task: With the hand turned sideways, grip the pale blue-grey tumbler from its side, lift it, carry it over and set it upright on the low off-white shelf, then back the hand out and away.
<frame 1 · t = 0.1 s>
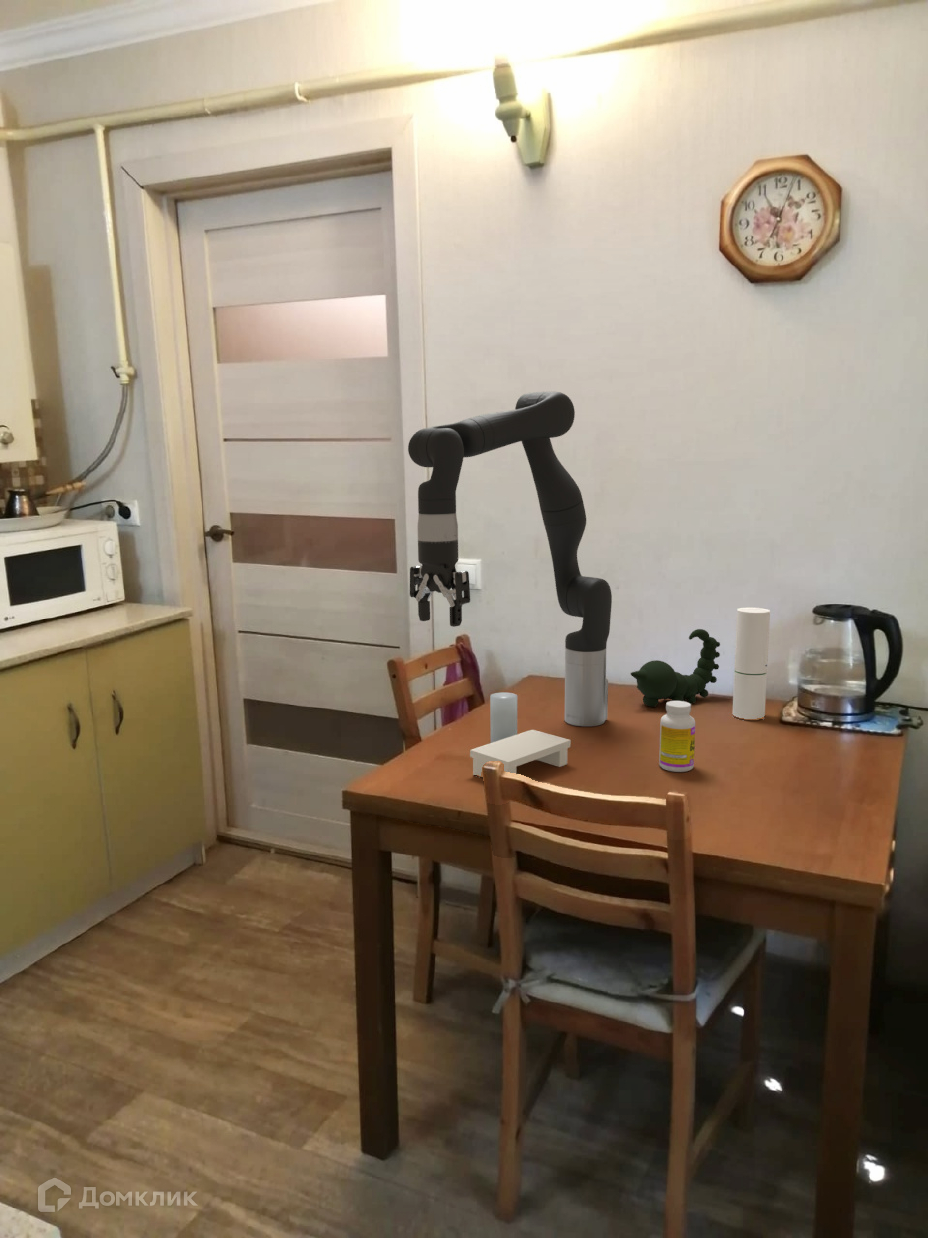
hand: (439, 623, 175), 29 cm above the table, tool pointing down, fingers open, 8 cm apart
cylindrical container: (748, 717, 213), on the table
supplement bottle: (676, 768, 180), on the table
tumbler: (503, 746, 194), on the table
toy figurine: (672, 703, 225), on the table
shelf: (520, 769, 180), on the table
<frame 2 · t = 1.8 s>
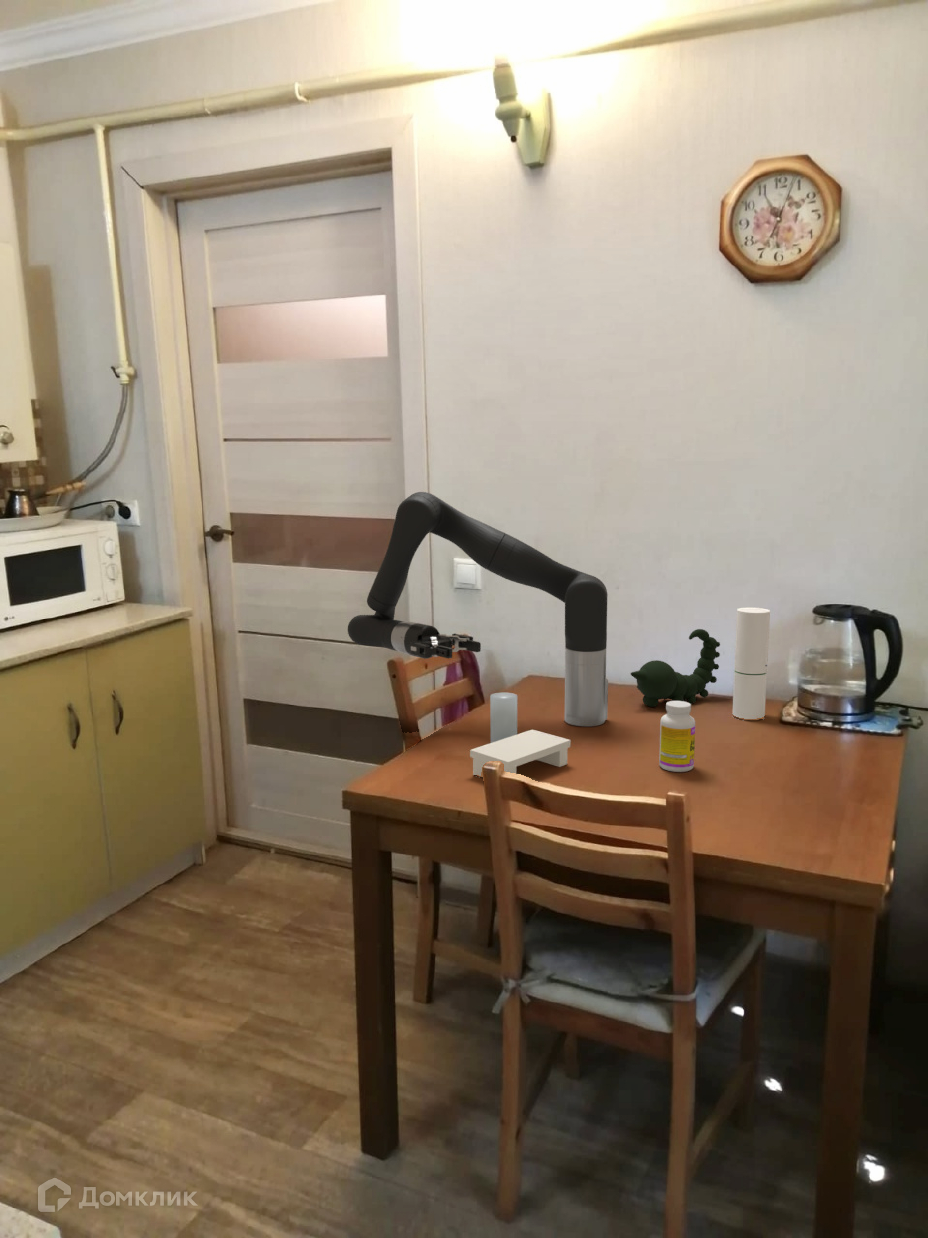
hand: (465, 650, 198), 19 cm above the table, tool horizontal, fingers open, 8 cm apart
nothing on the table moved.
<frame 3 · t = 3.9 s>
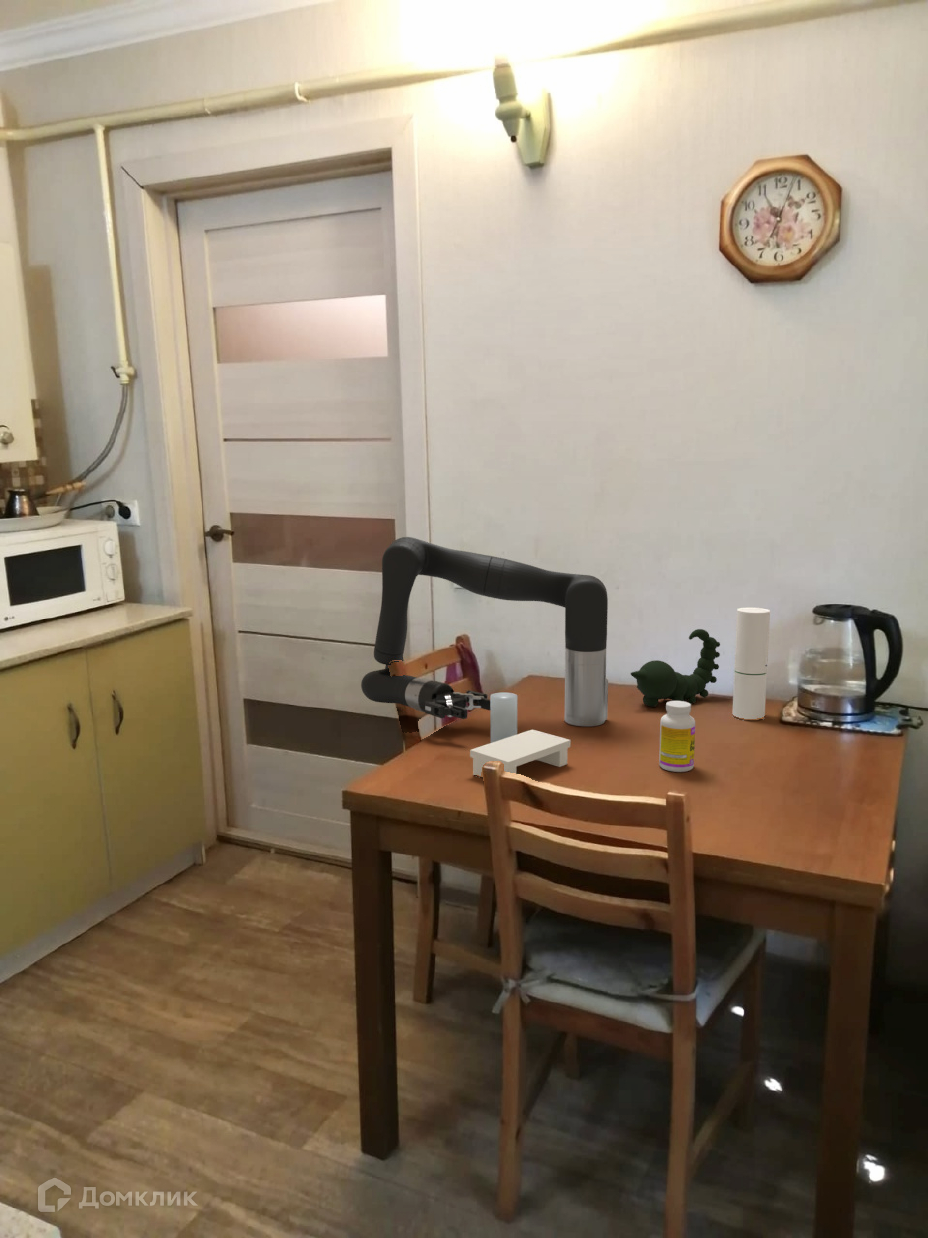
hand: (480, 710, 198), 6 cm above the table, tool horizontal, fingers open, 8 cm apart
nothing on the table moved.
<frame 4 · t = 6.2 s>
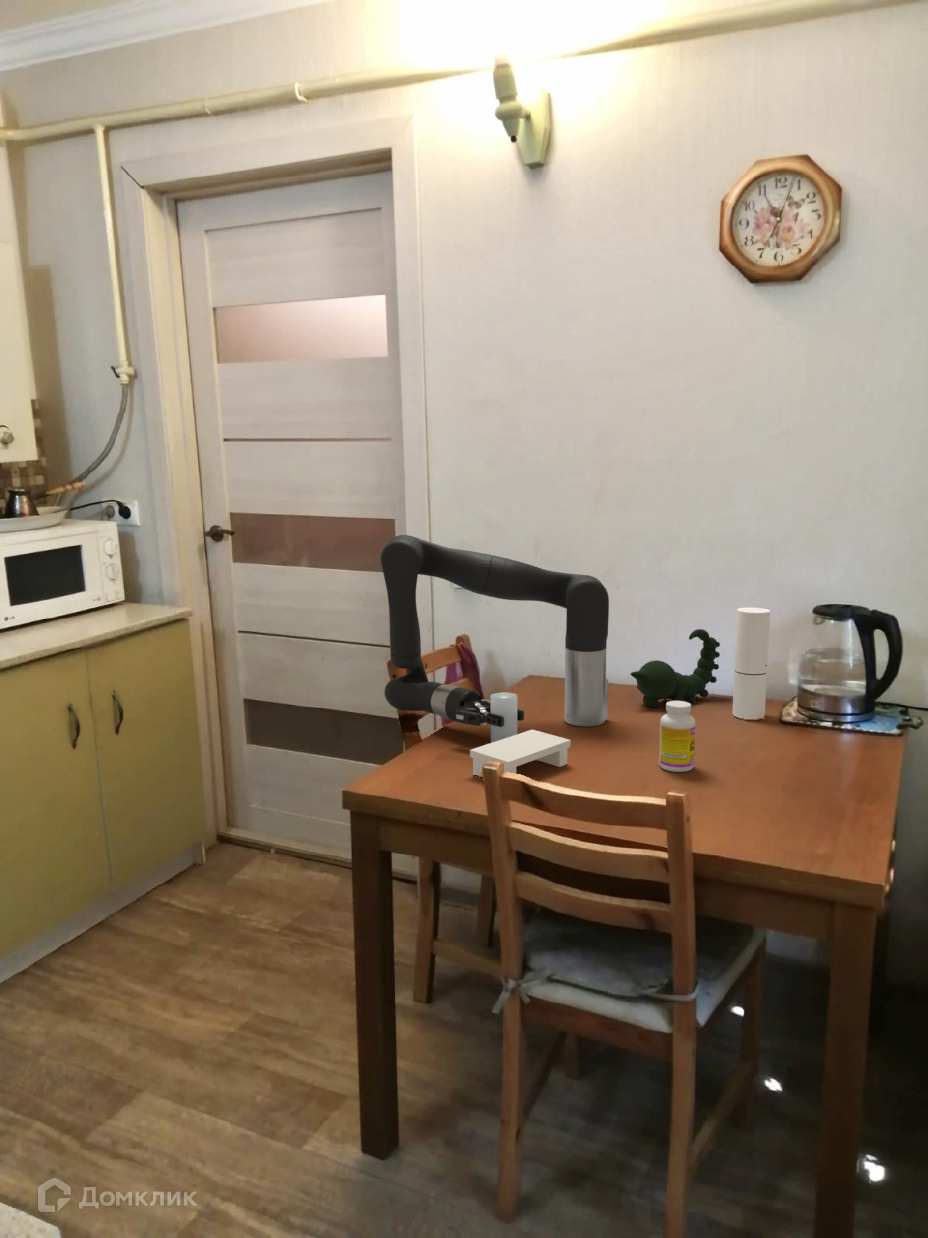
hand: (512, 718, 191), 7 cm above the table, tool horizontal, fingers closed on tumbler, 5 cm apart
tumbler: (504, 746, 194), on the table, touching gripper
everything else where it was.
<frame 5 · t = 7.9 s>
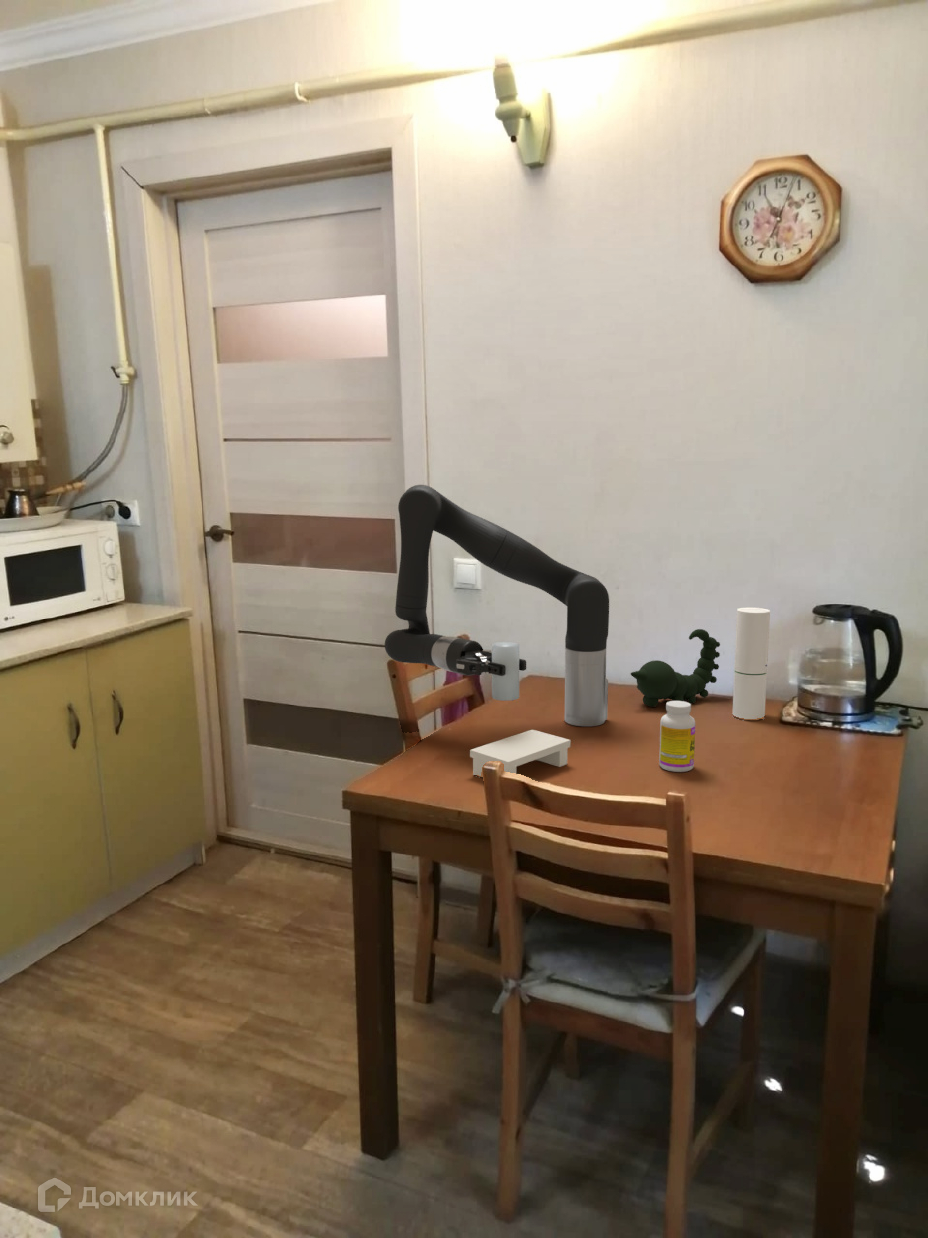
hand: (514, 668, 187), 18 cm above the table, tool horizontal, fingers closed on tumbler, 5 cm apart
tumbler: (505, 696, 190), point 11 cm above the table, touching gripper
everything else where it was.
when the fingers open (13 cm above the table, at t = 10.0 s): tumbler drops 1 cm, resting on shelf.
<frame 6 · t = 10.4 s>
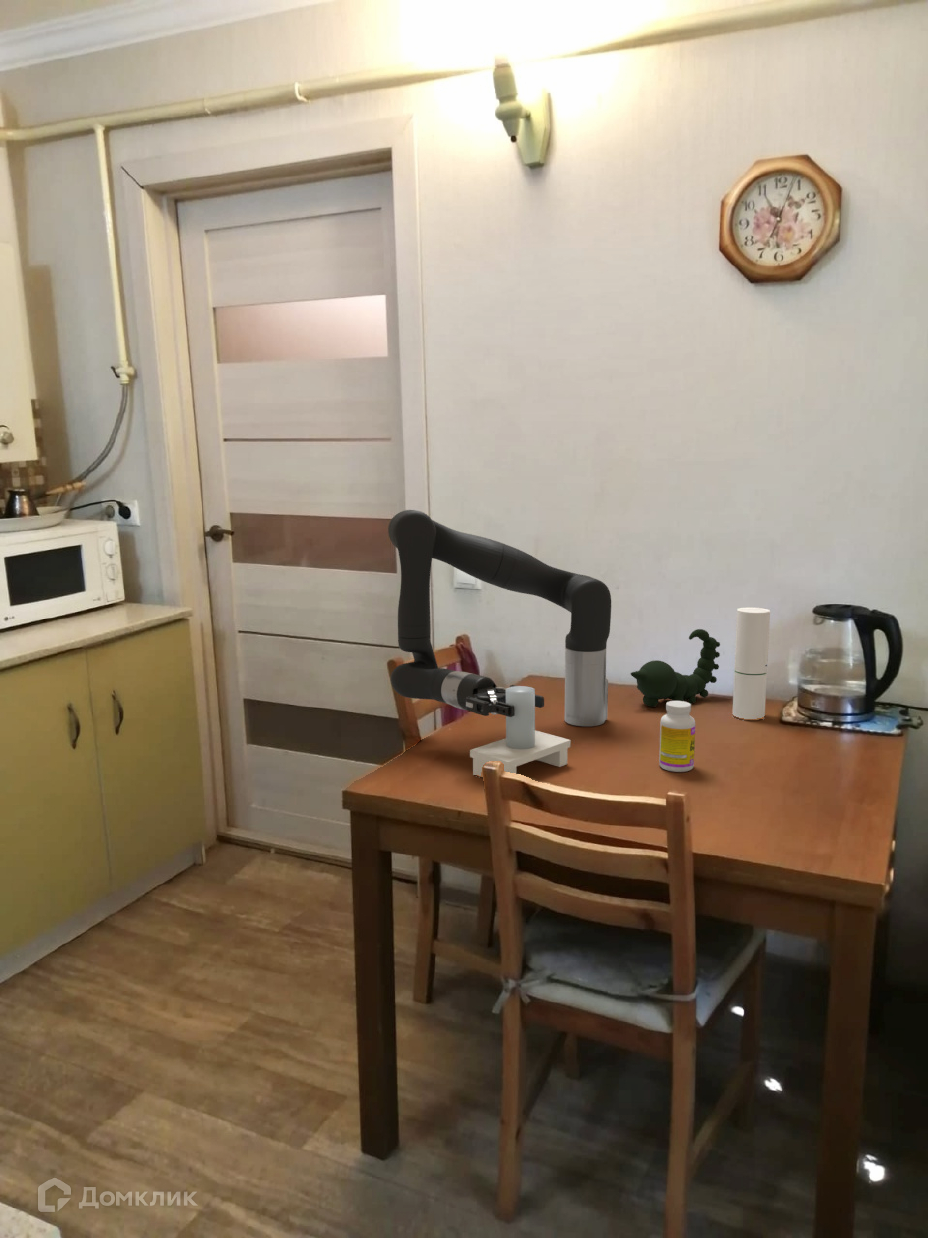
hand: (528, 707, 176), 13 cm above the table, tool horizontal, fingers open, 8 cm apart
tumbler: (520, 744, 179), point 5 cm above the table, touching shelf
everything else where it was.
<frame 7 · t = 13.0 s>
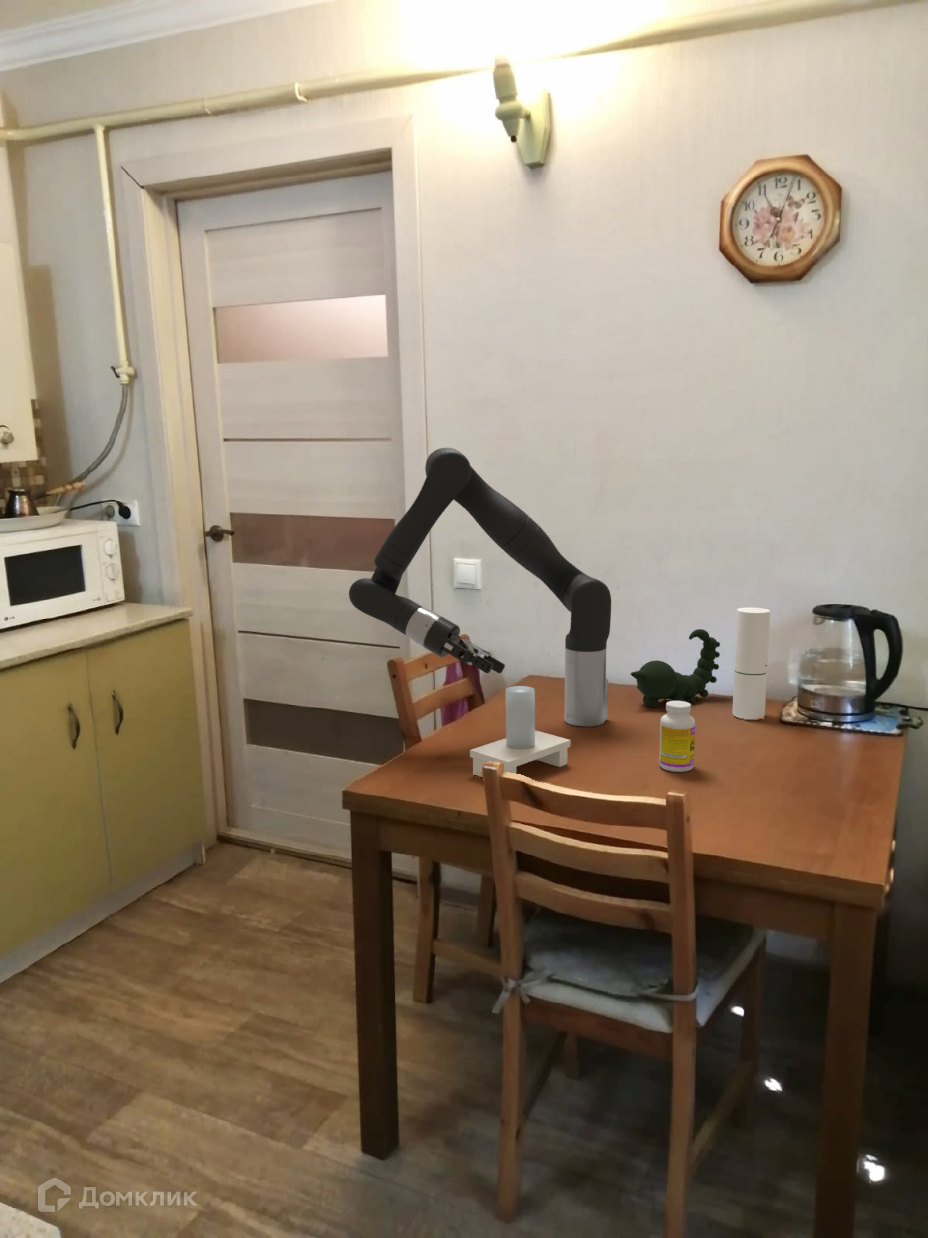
hand: (497, 669, 189), 17 cm above the table, tool tilted 65°, fingers open, 8 cm apart
nothing on the table moved.
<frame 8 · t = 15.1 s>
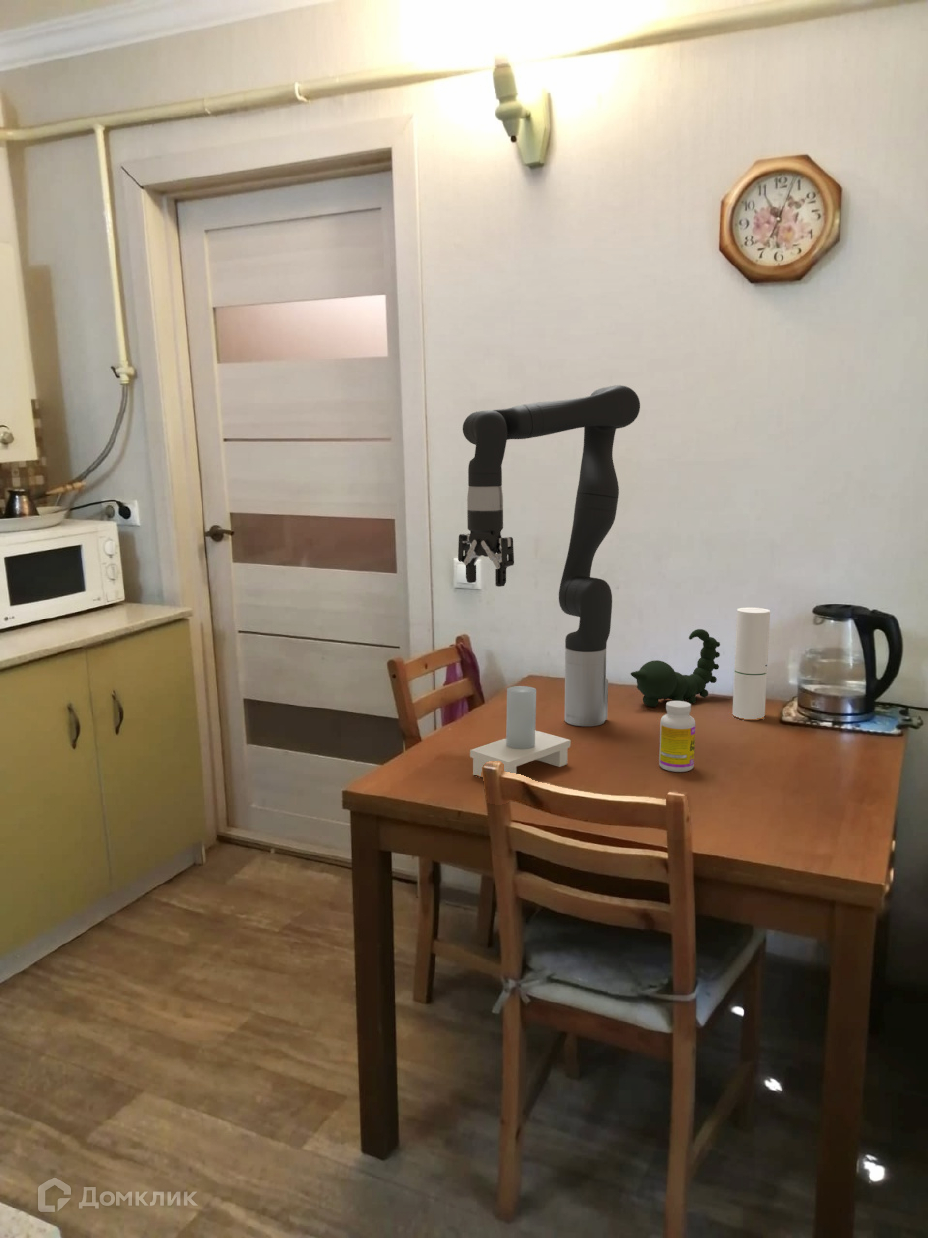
hand: (485, 584, 197), 33 cm above the table, tool pointing down, fingers open, 8 cm apart
nothing on the table moved.
at the end: tumbler inside the target area (0.1 cm from its centre), point 5.0 cm above the table; tumbler tilted 1°; the gripper is holding nothing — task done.
